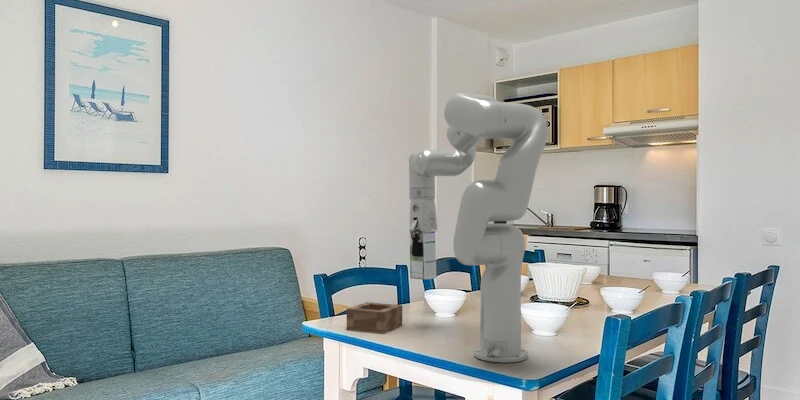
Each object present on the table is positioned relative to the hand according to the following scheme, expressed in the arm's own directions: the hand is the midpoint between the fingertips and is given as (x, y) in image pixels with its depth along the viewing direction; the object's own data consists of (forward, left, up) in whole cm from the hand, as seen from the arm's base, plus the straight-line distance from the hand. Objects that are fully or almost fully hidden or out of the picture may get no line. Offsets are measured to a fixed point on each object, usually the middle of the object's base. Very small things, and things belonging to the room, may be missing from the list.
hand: (423, 255), depth 175 cm
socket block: (-7, +12, -21) cm, 25 cm away
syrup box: (0, 0, -7) cm, 7 cm away
